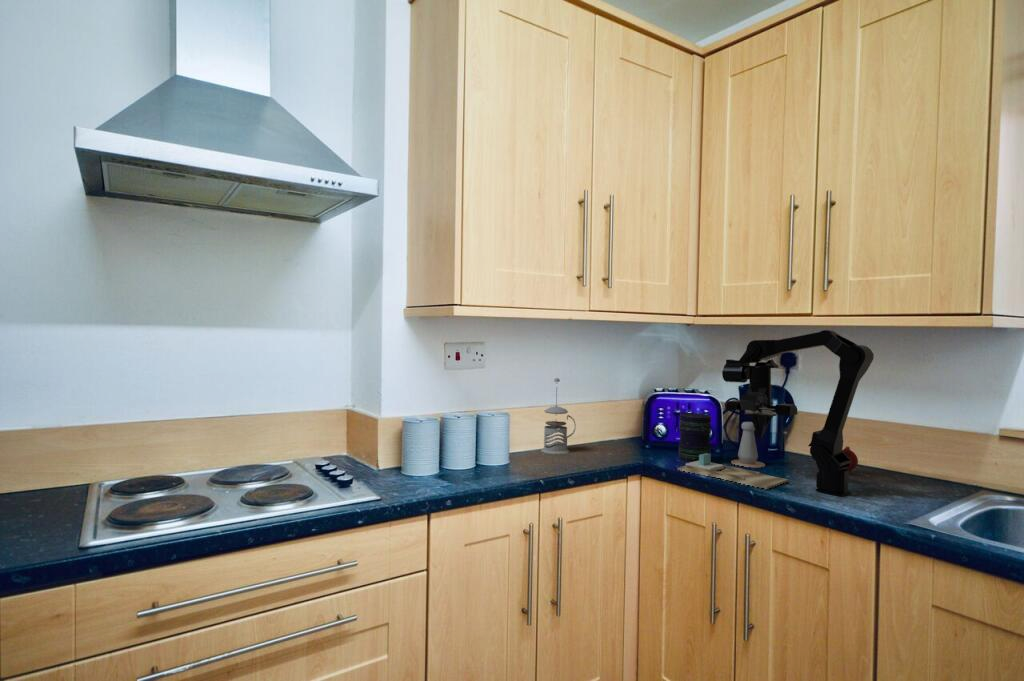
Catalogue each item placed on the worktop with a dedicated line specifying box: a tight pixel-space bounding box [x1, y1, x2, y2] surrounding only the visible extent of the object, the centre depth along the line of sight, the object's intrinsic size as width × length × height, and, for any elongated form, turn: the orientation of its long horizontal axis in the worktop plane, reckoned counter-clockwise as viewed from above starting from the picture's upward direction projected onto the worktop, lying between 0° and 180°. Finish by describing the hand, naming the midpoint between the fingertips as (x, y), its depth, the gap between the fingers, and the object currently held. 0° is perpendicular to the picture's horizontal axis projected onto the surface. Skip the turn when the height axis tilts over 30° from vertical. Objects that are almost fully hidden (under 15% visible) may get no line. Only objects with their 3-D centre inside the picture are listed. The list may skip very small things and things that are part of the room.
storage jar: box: [678, 412, 712, 464], centre depth 187 cm, size 10×10×15 cm
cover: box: [685, 453, 724, 471], centre depth 174 cm, size 8×8×4 cm
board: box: [677, 464, 789, 490], centre depth 168 cm, size 27×13×2 cm, turn 42°
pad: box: [730, 459, 766, 469], centre depth 184 cm, size 10×10×1 cm
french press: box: [540, 377, 577, 455], centre depth 198 cm, size 10×12×25 cm
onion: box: [842, 445, 859, 473], centre depth 175 cm, size 6×6×8 cm
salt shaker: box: [737, 421, 759, 465], centre depth 184 cm, size 6×6×13 cm
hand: (760, 437), depth 167 cm, fingers closed
